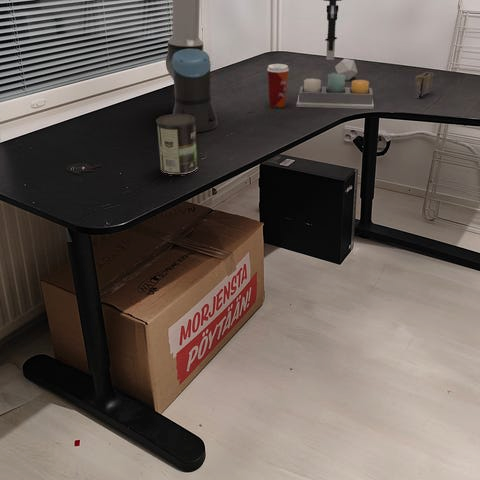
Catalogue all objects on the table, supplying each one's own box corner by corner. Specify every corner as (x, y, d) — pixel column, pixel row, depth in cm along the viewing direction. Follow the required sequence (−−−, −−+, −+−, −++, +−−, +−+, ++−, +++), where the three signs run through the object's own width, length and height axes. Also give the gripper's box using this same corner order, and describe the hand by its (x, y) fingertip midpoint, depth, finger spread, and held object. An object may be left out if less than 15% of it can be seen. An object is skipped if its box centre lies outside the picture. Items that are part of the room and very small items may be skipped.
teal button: (327, 94, 216) (328, 77, 213) (327, 89, 221) (328, 73, 218) (344, 94, 215) (345, 77, 212) (344, 90, 220) (345, 73, 217)
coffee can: (197, 161, 172) (194, 112, 165) (198, 175, 163) (195, 124, 156) (160, 162, 171) (157, 114, 164) (159, 176, 162) (155, 126, 155)
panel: (296, 106, 216) (297, 94, 214) (298, 96, 227) (299, 84, 225) (373, 109, 212) (374, 96, 210) (372, 98, 224) (373, 86, 221)
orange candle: (350, 100, 216) (351, 83, 213) (350, 95, 221) (351, 79, 218) (367, 101, 215) (369, 84, 212) (367, 96, 220) (368, 79, 217)
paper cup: (286, 108, 214) (287, 68, 207) (265, 107, 215) (265, 68, 208) (289, 102, 221) (290, 63, 214) (268, 101, 222) (268, 62, 215)
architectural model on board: (419, 100, 223) (423, 73, 218) (412, 99, 224) (415, 72, 219) (431, 93, 230) (435, 67, 226) (424, 92, 232) (427, 66, 227)
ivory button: (303, 99, 218) (303, 82, 215) (303, 94, 223) (304, 78, 220) (319, 99, 217) (320, 83, 214) (320, 95, 222) (321, 78, 219)
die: (360, 81, 248) (357, 58, 250) (354, 74, 241) (350, 51, 242) (341, 86, 252) (338, 64, 253) (334, 80, 244) (331, 58, 246)
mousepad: (102, 165, 171) (101, 162, 171) (97, 175, 165) (97, 173, 164) (69, 165, 171) (68, 163, 171) (63, 176, 164) (62, 174, 164)
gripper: (345, -11, 195) (341, 63, 207) (344, -16, 207) (340, 55, 218) (321, -10, 196) (319, 63, 208) (322, -16, 208) (319, 55, 219)
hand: (330, 59), depth 213 cm, fingers closed
